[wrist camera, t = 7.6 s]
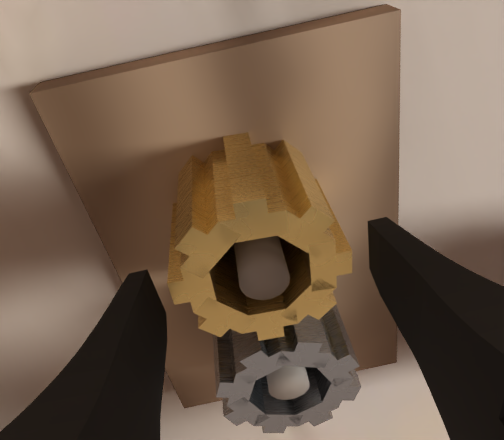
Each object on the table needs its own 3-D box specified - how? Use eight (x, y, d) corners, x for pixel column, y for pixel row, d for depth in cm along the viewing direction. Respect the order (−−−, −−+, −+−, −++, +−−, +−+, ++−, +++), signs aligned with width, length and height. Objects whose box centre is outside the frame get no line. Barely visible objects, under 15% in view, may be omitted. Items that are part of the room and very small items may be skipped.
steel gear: (293, 239, 18) (320, 319, 14) (350, 312, 21) (384, 394, 17) (187, 301, 19) (186, 389, 16) (254, 361, 22) (267, 448, 19)
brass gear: (313, 121, 15) (352, 183, 12) (320, 244, 18) (352, 324, 15) (156, 147, 15) (145, 219, 11) (190, 267, 18) (190, 353, 15)
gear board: (386, 3, 14) (474, 39, 10) (388, 344, 25) (432, 438, 20) (40, 82, 15) (-29, 151, 10) (184, 389, 25) (182, 491, 20)
